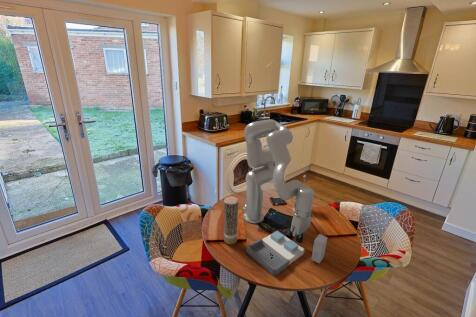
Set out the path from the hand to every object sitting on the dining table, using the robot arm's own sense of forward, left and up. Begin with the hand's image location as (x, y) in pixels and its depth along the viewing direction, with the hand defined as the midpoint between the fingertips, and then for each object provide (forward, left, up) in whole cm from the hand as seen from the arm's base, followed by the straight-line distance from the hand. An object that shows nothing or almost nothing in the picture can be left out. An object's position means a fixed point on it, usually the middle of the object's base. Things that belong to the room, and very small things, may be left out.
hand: (298, 241), depth 124 cm
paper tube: (-25, -24, -4) cm, 35 cm away
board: (-4, -7, -4) cm, 9 cm away
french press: (-21, +29, -4) cm, 36 cm away
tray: (-4, -18, -4) cm, 19 cm away
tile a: (0, -6, -1) cm, 6 cm away
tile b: (-9, -6, -1) cm, 11 cm away
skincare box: (+11, +2, -4) cm, 11 cm away
